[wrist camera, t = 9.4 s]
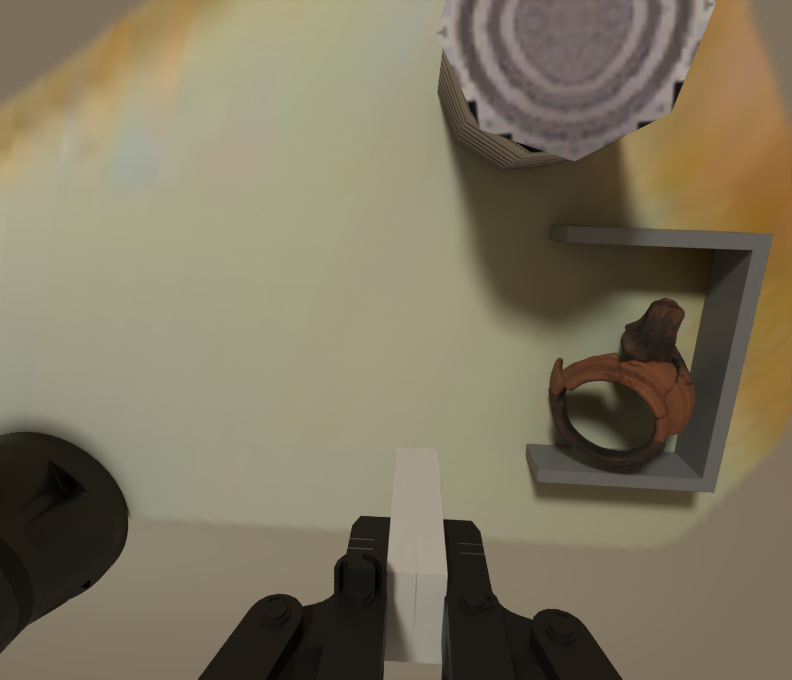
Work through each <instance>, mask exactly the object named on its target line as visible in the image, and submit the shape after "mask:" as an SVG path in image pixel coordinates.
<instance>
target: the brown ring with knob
mask: <svg viewBox="0 0 792 680" xmlns="http://www.w3.org/2000/svg"><path fill="white" fill-rule="evenodd" d="M684 315H685V313H684V310H683V309H682V308H681V307H680V306H679V305H678V304H677V302H676V301H674V300H671V299H668V298H663V299H661V300H657V301H654V302H652V303H651V305H650V307H649V308H648V310H647V311H646V313H645V314H644V315H643V316H642V318H641V319H639V320H638V321H635V322H633V323H630V324H627V325H626V326H625V330H626V331H625V332H624V334H623V336H622V338H621V344H622V346H623V350H624V352H625V353H626V354H627V355H628V356H629V357H630V358H633V359H634V360H632V361H628V362H621V361H620V359H619V355H618V353H610V354H604V355H600V356H592V357H589V358H587V359H584V360H582V361H578V362H576V363H573V364H571V365H569V366H568V367H567V368H565V369H564V370H563V369H562V364H563V359H561V358H558V359H557V360H556V362H555V364H554V367H553V370H552V373H551V377H550V388H549V395H550V399H551V403H552V409H553V416H554V419H555V423H556V426H557V428H558V430H559V432H560V433H561V435H562V436H563V437H564V438H565V440H566V441H568V442H569V443H570V445H571V446H572V447H573V448H574V449H575V450H576V451H578V452H580V453H582V454H583V455H584V456H586V457H587V458H590V459H592V460H594V461H597V462H599V463H603V464H607V465H612V466H613V465H617V466H627V465H628V466H632V465H635V464H640V463H643V462H647V461H648V460H649V459H650V458H652V457H653V456H654V455H656V454H657V453H658V452H659V451H660V450H662V449H663V448H664V447H665V443H664V442H665V440H666V437H667V435H673V434H678V433H681V432H682V431H683V430H684V428H685V427H686V425H687V424H688V422H689V420H690V418H691V416H692V412H693V406H694V404H695V390H694V385H693V382H692V379H691V376H690V373H689V371H688V369H687V367H686V364H685V362H684V360H683V358H682V357H681V355H680V353H679V351H678V350H677V348H676V346H675V343H676V338H677V332H678V329H679V327H680V324H681V322H682V320H683V319H684ZM672 362H673V363H672ZM592 381H608V382H615V383H621V384H622V385H624V386H626V387H628V388H630V389H632V390H633V391H634V392H636V393H637V394H639V395H640V396H641V397H642V398H643V399H644V400H645V401H646V403H647V404H648V405H649V407H650V408H651V410H652V413H653V416H654V420H655V429H654V432H653V435H652V438H651V439H650V440H649V441H648V442H647V443H646V444H644V445H643V446H641V447H639V448H636V449H633V450H628V451H616V450H613V449H607V448H602V447H600V446H597V445H595V444H593V443H592V442H590V441H588V440H587V439H585V438H584V437H583V436H582V435H581V434H579V433H578V431H577V430H576V429H575V428H574V427H573V425H572V424H571V422H570V421H569V418H568V416H567V411H566V399H565V396H564V395H565V392H566V390H567V389H568V390H571V391H572V390H574V389H575V388H577V387H578V386H580V385H582V384H584V383H587V382H592Z"/></svg>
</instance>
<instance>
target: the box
mask: <svg viewBox="0 0 792 680" xmlns="http://www.w3.org/2000/svg"><path fill="white" fill-rule="evenodd" d="M772 237H773V234H758V233H743V232H724V231H698V230H672V229H646V228H621V227H595V226H569V225H552V230H551V239H552V240H556V241H561V242H566V243H588V244H612V245H637V246H662V247H687V248H712V249H715V253H714V258H713V263H712V268H711V273H710V278H709V283H708V288H707V293H706V298H705V303H704V308H703V313H702V318H701V323H700V327H699V332H698V337H697V342H696V347H695V352H694V357H693V362H692V367H691V372H690V376H691V379H692V382H693V385H694V390H695V404H694V406H693V412H692V416H691V418H690V420H689V422H688V424H687V425H686V427H685V428H684V430H683V431H682V432H681V433H678V437H677V442H676V447H675V452H658V453H657V454H656V455H654V456H653V457H652V458H650V459H649V460H648V461H647V462H643V463H640V464H635V465H632V466H628V465H627V466H617V465H613V466H612V465H607V464H603V463H599V462H597V461H594V460H592V459H590V458H587V457H586V456H584V455H583V454H582V453H580V452H578V451H576V450H575V449H574V448H573V447H572V446H555V445H538V444H527V447H526V457H527V460H528V462H529V465H530V467H531V469H532V472H533V474H534V476H535V479H536V481H537V482H548V483H564V484H580V485H597V486H613V487H630V488H646V489H662V490H679V491H695V492H712V493H714V491H715V487H716V482H717V478H718V473H719V469H720V465H721V460H722V456H723V452H724V447H725V443H726V438H727V434H728V430H729V425H730V421H731V417H732V412H733V408H734V403H735V399H736V395H737V390H738V386H739V382H740V377H741V373H742V368H743V364H744V360H745V355H746V351H747V346H748V342H749V338H750V333H751V329H752V325H753V320H754V316H755V311H756V307H757V303H758V298H759V294H760V290H761V285H762V281H763V276H764V272H765V268H766V263H767V259H768V255H769V250H770V246H771V241H772ZM613 450H616V451H628V450H624V449H613Z"/></svg>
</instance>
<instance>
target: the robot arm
mask: <svg viewBox="0 0 792 680" xmlns="http://www.w3.org/2000/svg"><path fill="white" fill-rule="evenodd" d="M127 533H128V516H127V510H126V506H125V503H124V500H123V497H122V495H121V493H120V491H119V489H118V487H117V485H116V483H115V482H114V480H113V479H112V477H111V476H110V475H109V474H108V472H107V471H106V470H105V469H104V468H103V467H102V466H101V465H100V464H99V463H98V462H97V461H96V460H95V459H94V458H93V457H91V456H90V455H89V454H88V453H86V452H85V451H83V450H82V449H80V448H78V447H77V446H75V445H73V444H71V443H69V442H67V441H65V440H62V439H59V438H57V437H53V436H50V435H46V434H41V433H33V432H17V433H10V434H5V435H1V436H0V653H1V652H2V651H3V650H4V649H5V648H6V647H7V646H8V645H9V644H10V643H11V641H12V640H13V639H14V638H15V637H16V636H17V635H18V634H19V633H20V632H21V631H22V630H23V629H24V628H25V627H26V626H27V625H29V624H31V623H32V622H34V621H36V620H37V619H39V618H41V617H42V616H44V615H46V614H47V613H49V612H51V611H52V610H54V609H56V608H57V607H59V606H61V605H62V604H64V603H65V602H67V601H68V600H69V599H71V598H74V597H75V596H77V595H79V594H81V593H83V592H84V591H86V590H88V589H89V588H90V587H92V586H93V585H94V584H95V583H96V582H97V581H98V580H99V579H100V578H101V577H102V576H103V575H104V574H105V573H106V572H107V570H108V569H109V568H110V567H111V566H112V565H113V564H114V563H115V561H116V560H117V559H118V557H119V556H120V554H121V552H122V550H123V548H124V546H125V543H126V539H127ZM482 544H483V543H482V538H481V533H480V531H479V529H478V528H477V527H476V526H475V524H474V523H473V522H472V521H465V520H447V519H443V514H442V502H441V490H440V478H439V466H438V455H437V449H429V448H409V447H397V452H396V464H395V476H394V487H393V499H392V511H391V518H390V517H372V516H360V517H359V518H358V520H357V521H356V522H355V523H354V524H353V525H352V529H351V534H350V540H349V544H348V549H347V554H346V555H344V556H343V557H341V558H340V559H339V560H338V561H337V563H336V565H335V567H334V594H333V595H332V596H331V597H329V598H328V599H326V600H324V601H322V602H319V603H316V604H312V605H307V606H302V605H301V603H300V602H299V601H298V600H297V599H296V598H294V597H292V596H290V595H286V594H275V595H270V596H267V597H265V598H263V599H261V600H259V601H258V602H257V603H255V604H254V605H253V606H252V607H251V608H250V610H249V611H248V612H247V614H246V615H245V616H244V618H243V619H242V621H241V622H240V623H239V625H238V626H237V627H236V629H235V630H234V631H233V633H232V634H231V635H230V637H229V638H228V639H227V641H226V642H225V643H224V645H223V646H222V648H221V649H220V650H219V652H218V653H217V654H216V656H215V657H214V658H213V660H212V661H211V662H210V664H209V665H208V666H207V668H206V669H205V671H204V672H203V673H202V675H201V676H200V677H199V679H198V680H383V675H384V661H399V662H400V661H401V662H416V663H430V664H441V660H442V679H441V680H622V678H621V677H620V675H619V674H618V672H617V671H616V669H615V668H614V667H613V665H612V664H611V662H610V661H609V659H608V658H607V656H606V655H605V654H604V652H603V651H602V649H601V648H600V646H599V645H598V643H597V642H596V641H595V639H594V638H593V636H592V635H591V633H590V632H589V631H588V629H587V628H586V626H585V625H584V624H583V623H582V622H581V621H580V620H579V619H578V618H576V617H575V616H573V615H571V614H570V613H568V612H564V611H561V610H558V609H546V610H543V611H540V612H538V613H537V614H536V615H535V616H534V618H533V620H532V619H529V618H526V617H523V616H520V615H517V614H515V613H512V612H510V611H509V610H507V609H506V608H504V607H503V606H502V605H501V604H500V603H499V601H498V599H497V597H496V596H495V595H494V594H493V592H492V589H491V584H490V579H489V574H488V568H487V564H486V558H485V555H484V548H483V545H482Z"/></svg>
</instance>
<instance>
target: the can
mask: <svg viewBox="0 0 792 680" xmlns="http://www.w3.org/2000/svg"><path fill="white" fill-rule="evenodd" d="M714 7H715V1H714V0H446V3H445V7H444V10H443V13H442V16H441V19H440V22H439V26H438V29H437V32H436V34H437V36H438V38H439V40H440V43H441V45H442V47H443V51H442V59H441V68H440V76H439V85H438V95H439V97H440V100H441V103H442V106H443V109H444V111H445V114H446V117H447V120H448V123H449V125H450V128H451V131H452V134H453V137H454V139H455V142H456V143H457V144H458V145H460V146H461V147H463V148H464V149H466V150H467V151H469V152H470V153H472V154H473V155H475V156H476V157H478V158H479V159H481V160H482V161H484V162H485V163H487V164H488V165H490V166H491V167H493V168H494V169H496V170H497V171H501V170H513V169H526V168H538V167H549V166H552V165H555V164H557V163H560V162H563V161H566V160H571V161H574V162H575V161H577V160H579V159H581V158H582V157H584V156H586V155H588V154H590V153H592V152H594V151H596V150H598V149H600V148H603V147H605V146H607V145H608V144H610V143H612V142H614V141H616V140H618V139H620V138H622V137H624V136H626V135H628V134H630V133H632V132H634V131H636V130H638V129H640V128H642V127H644V126H645V125H647V124H649V123H651V122H653V121H655V120H657V119H659V118H661V117H663V116H665V115H667V114H669V113H671V112H672V109H673V107H674V104H675V102H676V100H677V97H678V95H679V92H680V90H681V87H682V85H683V82H684V80H685V78H686V75H687V73H688V70H689V68H690V65H691V63H692V61H693V58H694V56H695V53H696V51H697V48H698V46H699V43H700V41H701V39H702V36H703V34H704V31H705V29H706V26H707V24H708V22H709V19H710V17H711V14H712V12H713V9H714Z"/></svg>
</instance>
